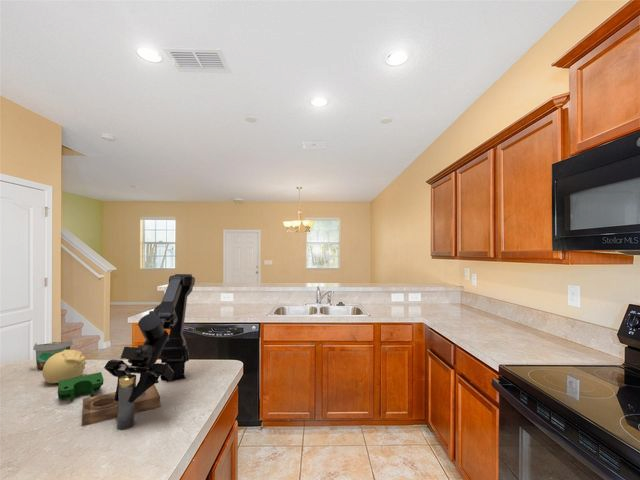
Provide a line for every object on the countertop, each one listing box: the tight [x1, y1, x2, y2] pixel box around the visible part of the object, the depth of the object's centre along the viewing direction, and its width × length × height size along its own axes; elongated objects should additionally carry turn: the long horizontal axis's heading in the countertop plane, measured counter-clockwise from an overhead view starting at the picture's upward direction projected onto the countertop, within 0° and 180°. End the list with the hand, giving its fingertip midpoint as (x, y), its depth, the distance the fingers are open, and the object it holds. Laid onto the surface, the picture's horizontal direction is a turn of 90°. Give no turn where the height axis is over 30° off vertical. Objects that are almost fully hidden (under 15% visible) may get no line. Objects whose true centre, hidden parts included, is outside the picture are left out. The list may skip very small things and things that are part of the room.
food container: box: [33, 339, 74, 371], centre depth 123 cm, size 12×6×10 cm, turn 118°
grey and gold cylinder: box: [116, 373, 137, 431], centre depth 85 cm, size 4×4×13 cm
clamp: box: [57, 371, 104, 403], centre depth 101 cm, size 12×6×9 cm, turn 129°
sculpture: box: [42, 349, 87, 384], centre depth 113 cm, size 11×12×11 cm
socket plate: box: [81, 384, 161, 427], centre depth 94 cm, size 19×11×3 cm, turn 127°
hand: (122, 401), depth 84 cm, fingers closed on grey and gold cylinder, 4 cm apart
